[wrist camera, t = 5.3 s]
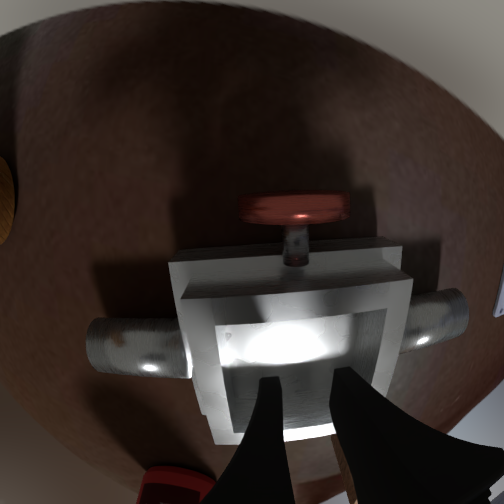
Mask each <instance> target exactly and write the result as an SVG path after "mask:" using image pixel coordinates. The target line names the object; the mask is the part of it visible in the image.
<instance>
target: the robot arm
mask: <svg viewBox="0 0 504 504" xmlns="http://www.w3.org/2000/svg"><path fill="white" fill-rule="evenodd" d="M503 314H504V266H503V271H502V276H501V281H500V286H499V290H498V294H497V298H496V302H495V306H494V309H493V316H495V317H498V316H500V315H503ZM329 409H330V413H331V418H332V422H333V426H334V429H335V432H336V434H337V437H338V440H339V442H340V445H341V448H342V450H343V453H344V456H345V458H346V461H347V463H348V466H349V469H350V472H351V475H352V479H353V483H354V487H355V492H356V497H357V502H358V504H504V491H503V492H502V493H501V494H499V495H498V496H497V497H496V498H494V499H493V500H492V501H491V502H490V501H489V499H488V497H489V496H491V491H490V489H489V488H490V487H491V486H492V485H493V484H495V483H496V482H497V481H498V480H499V479H500V478H501V477H502V476H503V475H504V450H503V449H502V448H498V447H491V446H485V445H479V444H474V443H471V442H467V441H464V440H460V439H457V438H454V437H452V436H449V435H447V434H444V433H442V432H440V431H437V430H435V429H433V428H431V427H429V426H427V425H425V424H424V423H422V422H420V421H418V420H416V419H415V418H413V417H411V416H410V415H408V414H407V413H405V412H404V411H402V410H401V409H400V408H398V407H397V406H395V405H394V404H393V403H392V402H390V401H389V400H388V399H387V398H385V397H384V396H383V395H382V394H380V393H379V392H378V391H377V390H376V389H374V388H373V387H372V386H371V385H370V384H369V383H368V382H367V381H365V380H364V379H363V378H362V377H361V376H360V375H359V374H358V373H357V372H356V371H354V370H353V369H352V368H351V367H350V366H348V367H342V368H336V369H334V373H333V380H332V387H331V393H330V399H329ZM199 504H295V500H294V495H293V489H292V484H291V479H290V473H289V468H288V462H287V456H286V450H285V444H284V429H283V398H282V387H281V382H280V378H279V376H272V377H262V378H261V379H259V388H258V394H257V399H256V403H255V406H254V409H253V413H252V416H251V419H250V421H249V424H248V426H247V429H246V431H245V433H244V436H243V438H242V440H241V442H240V444H239V446H238V448H237V450H236V452H235V454H234V456H233V457H232V459H231V461H230V463H229V464H228V466H227V467H226V469H225V470H224V472H223V473H222V475H221V476H220V478H219V479H218V481H217V482H216V484H215V485H214V486H213V487H212V489H211V490H210V491H209V492H208V494H207V495H206V496H205V497H204V498H203V499H202V501H201V502H200V503H199Z"/></svg>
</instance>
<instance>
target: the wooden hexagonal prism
mask: <svg viewBox="0 0 504 504" xmlns="http://www.w3.org/2000/svg"><path fill="white" fill-rule="evenodd" d="M331 441H332V444H333V447H334V451H335V454H336V458H337V461H338V464H339V468H340V471H341V475H342V478H343V482H344V485H345V489H346V492H347V496H348V499H349V503H350V504H358V502H357V497H356V492H355V487H354V483H353V479H352V475H351V472H350V469H349V466H348V463H347V461H346V458H345V456H344V453H343V450H342V448H341V445H340V442H339V440H338V437H337V434H336V433H335V434H331Z"/></svg>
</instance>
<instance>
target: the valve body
mask: <svg viewBox="0 0 504 504" xmlns="http://www.w3.org/2000/svg"><path fill="white" fill-rule="evenodd" d="M238 208H239V219H240V220H241V221H243V222H247V223H254V224H267V225H281V226H282V243H268V244H254V245H239V246H225V247H210V248H197V249H183V250H179V251H178V252H177V253H176V254H175V255H174V256H173V258H172V259H171V260H170V261H169V262H168V265H169V271H170V277H171V283H172V289H173V294H174V300H175V305H176V310H177V315H178V318H102V317H98V318H95V319H94V320H93V321H92V322H91V324H90V325H89V328H88V331H87V335H86V351H87V355H88V359H89V361H90V363H91V365H92V366H93V368H94V369H95V370H97V371H99V372H106V373H114V374H123V375H134V376H146V377H163V378H191V376H192V380H193V384H194V388H195V392H196V395H197V399H198V402H199V406H200V409H201V413H202V415H207V419H208V422H209V425H210V429H211V432H212V435H213V439H214V442H215V444H240V442H241V440H242V438H243V436H244V433H245V431H246V429H247V426H248V424H249V421H250V419H251V416H252V413H253V409H254V406H255V403H256V399H257V394H258V388H259V379H261V378H262V377H272V376H279V378H280V382H281V387H282V398H283V429H284V441H291V440H299V439H306V438H313V437H319V436H325V435H330V434H335V433H336V432H335V429H334V426H333V422H332V418H331V413H330V409H329V399H330V393H331V387H332V380H333V373H334V369H336V368H342V367H348V366H350V367H351V368H352V369H353V370H354V371H356V372H357V373H358V374H359V375H360V376H361V377H362V378H363V379H364V380H365V381H367V382H368V383H369V384H370V385H371V386H372V387H373V388H374V389H376V390H377V391H378V392H379V393H380V394H382V395H383V396H384V397H386V394H387V391H388V388H389V385H390V382H391V379H392V375H393V372H394V369H395V365H396V362H397V358H398V355H399V354H402V353H406V352H410V351H414V350H417V349H421V348H424V347H428V346H431V345H434V344H437V343H441V342H444V341H447V340H450V339H453V338H455V337H458V336H460V335H461V334H462V333H463V332H464V331H465V329H466V327H467V324H468V320H469V308H468V304H467V301H466V298H465V296H464V295H463V294H462V292H461V291H459V290H458V289H456V288H449V289H444V290H439V291H434V292H429V293H424V294H418V295H413V296H411V292H412V285H413V278H412V277H410V276H409V275H407V274H406V273H404V272H403V271H401V270H400V268H401V258H402V246H401V245H399V244H397V243H395V242H393V241H391V240H389V239H387V238H385V237H383V236H380V237H363V238H347V239H330V240H314V241H309V224H318V223H328V222H335V221H340V220H344V219H347V218H349V217H350V193H349V192H345V191H333V190H288V191H270V192H259V193H250V194H243V195H239V196H238Z"/></svg>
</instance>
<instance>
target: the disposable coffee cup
mask: <svg viewBox="0 0 504 504" xmlns="http://www.w3.org/2000/svg"><path fill="white" fill-rule="evenodd" d="M14 207H15V194H14V185H13V179H12V175H11V171H10V169H9V167H8V165H7V163H6V161H5V160H4V159H3V158H2V157H1V156H0V244H2V243H3V242H4V241H5V240H6V239H7V237H8V235H9V233H10V230H11V227H12V223H13V218H14Z"/></svg>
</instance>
